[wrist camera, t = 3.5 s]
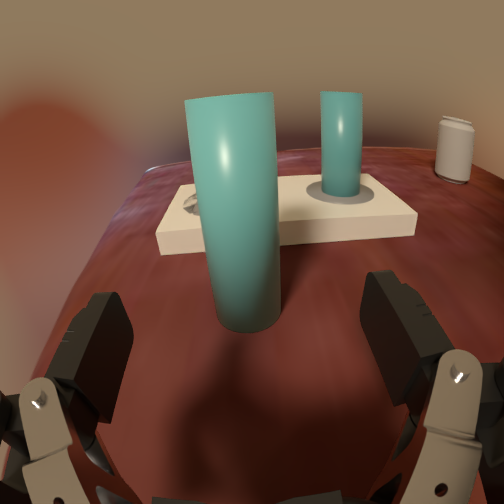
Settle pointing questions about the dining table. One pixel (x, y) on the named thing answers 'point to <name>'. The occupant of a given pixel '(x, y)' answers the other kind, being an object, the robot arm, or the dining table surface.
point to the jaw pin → (238, 205)
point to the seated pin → (341, 143)
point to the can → (454, 150)
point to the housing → (300, 215)
